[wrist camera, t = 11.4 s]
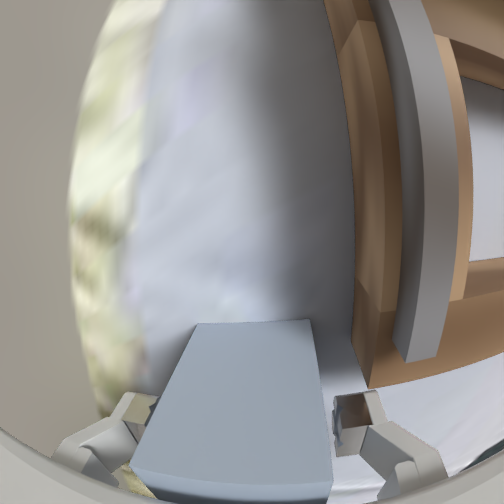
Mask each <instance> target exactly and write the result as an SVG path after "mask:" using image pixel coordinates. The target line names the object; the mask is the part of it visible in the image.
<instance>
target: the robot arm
mask: <svg viewBox="0 0 504 504" xmlns="http://www.w3.org/2000/svg"><path fill="white" fill-rule="evenodd" d="M160 399H161V397H160V396H154V395H148V394H142V393H135V392H130V391H128V392H126V393H125V394H124V395H123V397H122V398H121V400H120V401H119V403H118V404H117V406H116V408H115V409H114V411H113V412H112V414H111V416H110V417H105V418H103V419H101V420H100V421H98V422H96V423H94V424H92V425H90V426H88V427H86V428H84V429H82V430H80V431H78V432H76V433H74V434H72V435H70V436H68V437H66V438H64V439H63V441H62V442H61V444H60V445H59V447H58V448H57V450H56V451H55V453H54V454H53V456H52V457H51V458H49V457H47V456H45V455H43V454H41V453H40V452H38V451H36V450H34V449H33V448H31V447H29V446H28V445H26V444H24V443H23V442H21V441H20V440H18V439H17V438H15V437H14V436H12V435H10V434H9V433H8V432H6V431H5V430H3V429H2V428H1V427H0V504H177V503H172V502H167V501H163V500H159V499H155V498H151V497H147V496H143V495H140V494H136V493H133V492H130V491H126V490H123V489H120V488H117V487H118V485H119V482H118V480H117V479H116V478H115V477H114V476H113V475H112V474H111V473H112V472H114V471H115V470H116V469H117V468H119V467H120V466H122V465H123V464H124V463H125V462H127V461H128V460H129V459H131V458H132V457H133V455H134V452H135V450H136V448H137V446H138V444H139V442H140V440H141V438H142V436H143V434H144V432H145V429H146V427H147V425H148V423H149V421H150V419H151V417H152V415H153V413H154V411H155V409H156V407H157V405H158V403H159V401H160ZM333 404H334V410H333V411H332V431H333V434H334V435H335V442H334V445H335V451H336V457H341V456H349V455H356V454H360V456H361V457H362V458H363V459H364V460H365V461H366V462H367V463H368V464H369V465H370V466H371V467H372V468H373V469H374V470H375V471H376V472H377V473H378V474H380V475H381V476H382V477H383V478H384V479H385V480H386V483H385V484H384V486H383V487H382V489H381V490H380V492H379V493H378V495H377V498H378V501H374V502H369V503H364V504H504V449H503V450H502V451H500V452H498V453H497V454H495V455H493V456H492V457H490V458H488V459H486V460H484V461H482V462H480V463H479V464H477V465H475V466H473V467H471V468H469V469H466V470H464V471H462V472H460V473H458V474H456V475H453V476H451V477H448V475H447V472H446V469H445V467H444V464H443V462H442V459H441V457H440V454H439V452H438V450H437V449H435V448H433V447H432V446H430V445H428V444H427V443H425V442H424V441H422V440H421V439H419V438H417V437H416V436H414V435H413V434H411V433H410V432H408V431H406V430H405V429H403V428H402V427H400V426H399V425H397V424H396V423H394V422H393V421H389V422H388V420H387V417H386V414H385V412H384V409H383V406H382V403H381V401H380V398H379V395H378V392H377V391H376V390H371V391H365V392H359V393H352V394H346V395H339V396H335V397H334V402H333Z"/></svg>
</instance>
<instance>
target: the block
mask: <svg viewBox="0 0 504 504" xmlns="http://www.w3.org/2000/svg"><path fill="white" fill-rule="evenodd" d="M129 467H130V468H131V469H132V470H133V472H134V473H135V474H136V475H137V476H138V478H139V479H140V480H141V481H142V482H143V483H144V484H145V485H146V487H147V488H148V489H149V490H150V491H151V492H152V493H153V494H154V495H155V496H156V497H157V498H158V499H159V500H163V501H167V502H172V503H177V504H326V503H327V500H328V497H329V494H330V491H331V487H332V484H333V481H334V479H333V470H332V461H331V453H330V445H329V437H328V429H327V422H326V415H325V408H324V401H323V394H322V388H321V381H320V375H319V369H318V363H317V357H316V351H315V345H314V340H313V334H312V329H311V323H310V319H301V320H286V321H267V322H243V323H198V324H197V326H196V328H195V330H194V332H193V334H192V336H191V338H190V340H189V342H188V344H187V346H186V348H185V350H184V352H183V354H182V356H181V358H180V360H179V362H178V364H177V366H176V368H175V370H174V372H173V374H172V376H171V378H170V380H169V382H168V384H167V386H166V388H165V390H164V392H163V394H162V397H161V399H160V401H159V403H158V405H157V407H156V409H155V411H154V413H153V415H152V417H151V419H150V421H149V423H148V425H147V427H146V429H145V432H144V434H143V436H142V438H141V440H140V442H139V444H138V446H137V448H136V450H135V452H134V455H133V457H132V459H131V461H130V463H129Z"/></svg>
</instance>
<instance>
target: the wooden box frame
mask: <svg viewBox="0 0 504 504" xmlns="http://www.w3.org/2000/svg"><path fill="white" fill-rule="evenodd" d="M323 1H324V4H325V8H326V12H327V15H328V19H329V23H330V27H331V32H332V36H333V40H334V45H335V49H336V54H337V59H338V64H339V70H340V75H341V81H342V87H343V93H344V100H345V106H346V114H347V122H348V130H349V139H350V149H351V160H352V173H353V188H354V210H355V284H354V306H353V322H352V335H351V343H352V345H353V348H354V351H355V353H356V356H357V359H358V362H359V365H360V367H361V370H362V373H363V376H364V379H365V382H366V385H367V388H368V389H373V388H379V387H385V386H390V385H395V384H400V383H404V382H409V381H413V380H417V379H421V378H425V377H429V376H433V375H437V374H440V373H444V372H447V371H451V370H454V369H457V368H461V367H464V366H467V365H470V364H473V363H476V362H478V361H481V360H484V359H487V358H489V357H492V356H495V355H497V354H500V353H502V352H504V257H501V258H494V259H487V260H479V261H472V262H469V256H470V247H471V235H472V220H473V167H472V151H471V140H470V131H469V124H468V117H467V110H466V105H465V99H464V94H463V89H462V84H461V80H460V76H463V77H466V78H470V79H473V80H476V81H480V82H483V83H486V84H489V85H492V86H494V87H497V88H500V89H503V90H504V0H323Z"/></svg>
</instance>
